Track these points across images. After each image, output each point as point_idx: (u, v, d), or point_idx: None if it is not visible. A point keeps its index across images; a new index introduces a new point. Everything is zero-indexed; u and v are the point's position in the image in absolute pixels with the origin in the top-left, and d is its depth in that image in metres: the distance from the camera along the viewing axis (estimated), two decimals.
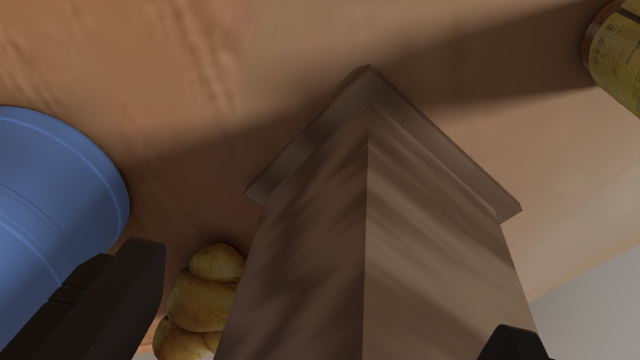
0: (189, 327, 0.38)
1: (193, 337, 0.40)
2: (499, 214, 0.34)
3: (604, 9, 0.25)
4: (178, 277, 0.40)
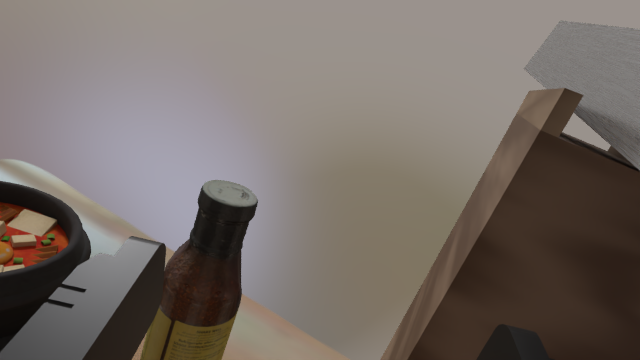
0: None
1: None
2: None
3: None
4: None
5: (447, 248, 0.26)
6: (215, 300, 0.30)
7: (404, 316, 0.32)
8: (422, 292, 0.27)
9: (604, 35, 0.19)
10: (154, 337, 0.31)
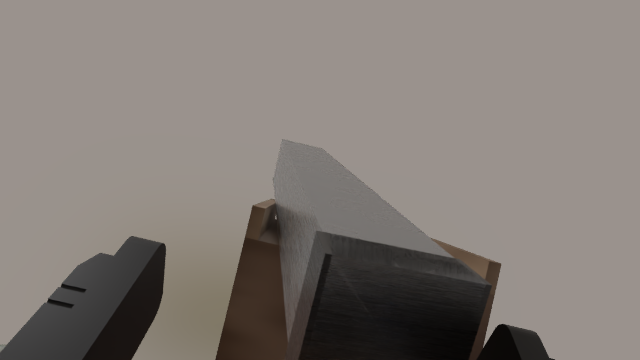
0: None
1: None
2: None
3: None
4: None
5: None
6: None
7: None
8: None
9: (286, 160, 0.26)
10: None
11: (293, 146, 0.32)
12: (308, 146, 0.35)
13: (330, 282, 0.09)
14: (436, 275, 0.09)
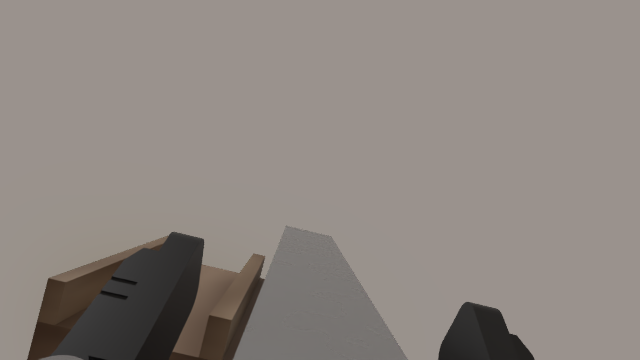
0: None
1: None
2: None
3: None
4: None
5: None
6: None
7: None
8: None
9: None
10: None
11: (294, 234, 0.28)
12: (314, 234, 0.31)
13: None
14: None
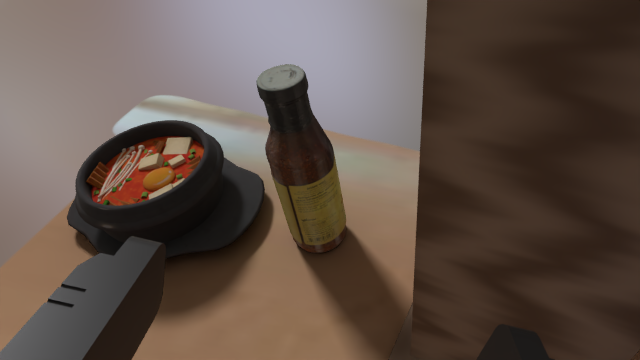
0: None
1: None
2: None
3: (308, 250, 0.45)
4: None
5: None
6: (308, 163, 0.37)
7: None
8: None
9: None
10: (283, 200, 0.41)
11: None
12: None
13: None
14: None
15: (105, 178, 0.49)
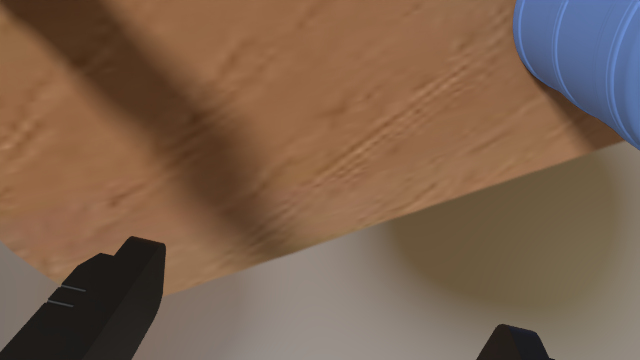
0: None
1: None
2: None
3: None
4: None
5: None
6: None
7: None
8: None
9: None
10: None
11: None
12: None
13: None
14: None
15: None
